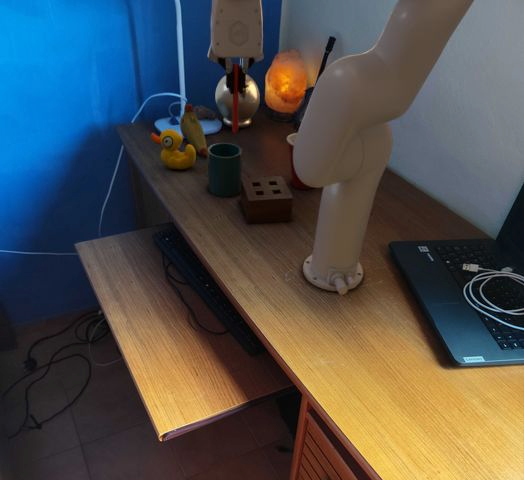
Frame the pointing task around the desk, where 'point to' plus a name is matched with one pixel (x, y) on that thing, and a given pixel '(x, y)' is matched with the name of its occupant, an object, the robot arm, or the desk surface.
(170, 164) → the duckling
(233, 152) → the tumbler
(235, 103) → the straw
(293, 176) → the plastic cup
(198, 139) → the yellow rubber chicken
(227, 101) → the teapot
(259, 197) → the straw stand
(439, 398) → the desk surface
